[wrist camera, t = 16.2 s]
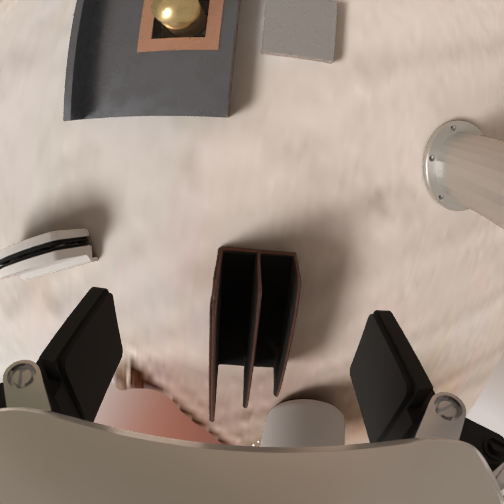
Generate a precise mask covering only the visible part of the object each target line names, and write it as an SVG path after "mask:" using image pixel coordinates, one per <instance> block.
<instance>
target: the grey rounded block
mask: <svg viewBox="0 0 504 504" xmlns="http://www.w3.org/2000/svg"><path fill="white" fill-rule="evenodd" d="M87 236H90V235H89V233H88V230H87V229H86V228H80V229H69V230H58V231H51V232H48V233H45V234H41V235H38V236H35V237H32V238H29V239H26V240H23V241H21V242H18V243H16V244H13V245H11V246H8V247H6V248H4V249H2V250H0V265H2V266H0V279H3V278H8V277H12V276H19V278H20V279H21V280H22V281H25V280H29V279H33V278H36V277H40V276H43V275H47V274H50V273H54V272H57V271H61V270H64V269H68V268H72V267H75V266H79V265H83V264H86V263H90V262H94V261H97V260H98V257H94V258H92V245H89V244H88V243H81V244H78V242H80V241H84V240H87ZM52 246H54V248H52V249H48V250H45V251H42V250H43V249H46V248H49V247H52Z"/></svg>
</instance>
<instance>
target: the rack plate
mask: <svg viewBox="0 0 504 504" xmlns="http://www.w3.org/2000/svg"><path fill="white" fill-rule="evenodd" d="M152 1H153V0H77V3H76V7H75V13H74V18H73V24H72V30H71V36H70V43H69V51H68V59H67V69H66V80H65V94H64V118H63V121H70V120H80V119H91V118H105V117H124V116H208V117H229V108H230V97H231V85H232V75H233V64H234V54H235V45H236V35H237V26H238V17H239V8H240V0H210V3H209V10H208V18H207V26H206V35H205V37H181V38H160V34H161V27H162V23H161V22H160V21H159V20H157V19H156V18H155V17H154V15H153V14H152V11H151V4H152Z"/></svg>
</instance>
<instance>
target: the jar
mask: <svg viewBox="0 0 504 504" xmlns="http://www.w3.org/2000/svg"><path fill="white" fill-rule="evenodd" d="M258 442H259V441H258ZM344 443H345V420H344V416H343V414H342V413H341V411H340V410H339V409H337V408H336V407H335V406H333V405H331V404H328V403H326V402H322V401H318V400H312V399H297V400H291V401H286V402H282V403H280V404H278V405H276V406H275V407H273V408H272V409H271V410H270V411H269V412H268V414H267V417H266V420H265V425H264V430H263V435H262V440H261V445H260V447H322V446H340V445H344ZM253 446H254V445H253Z"/></svg>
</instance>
